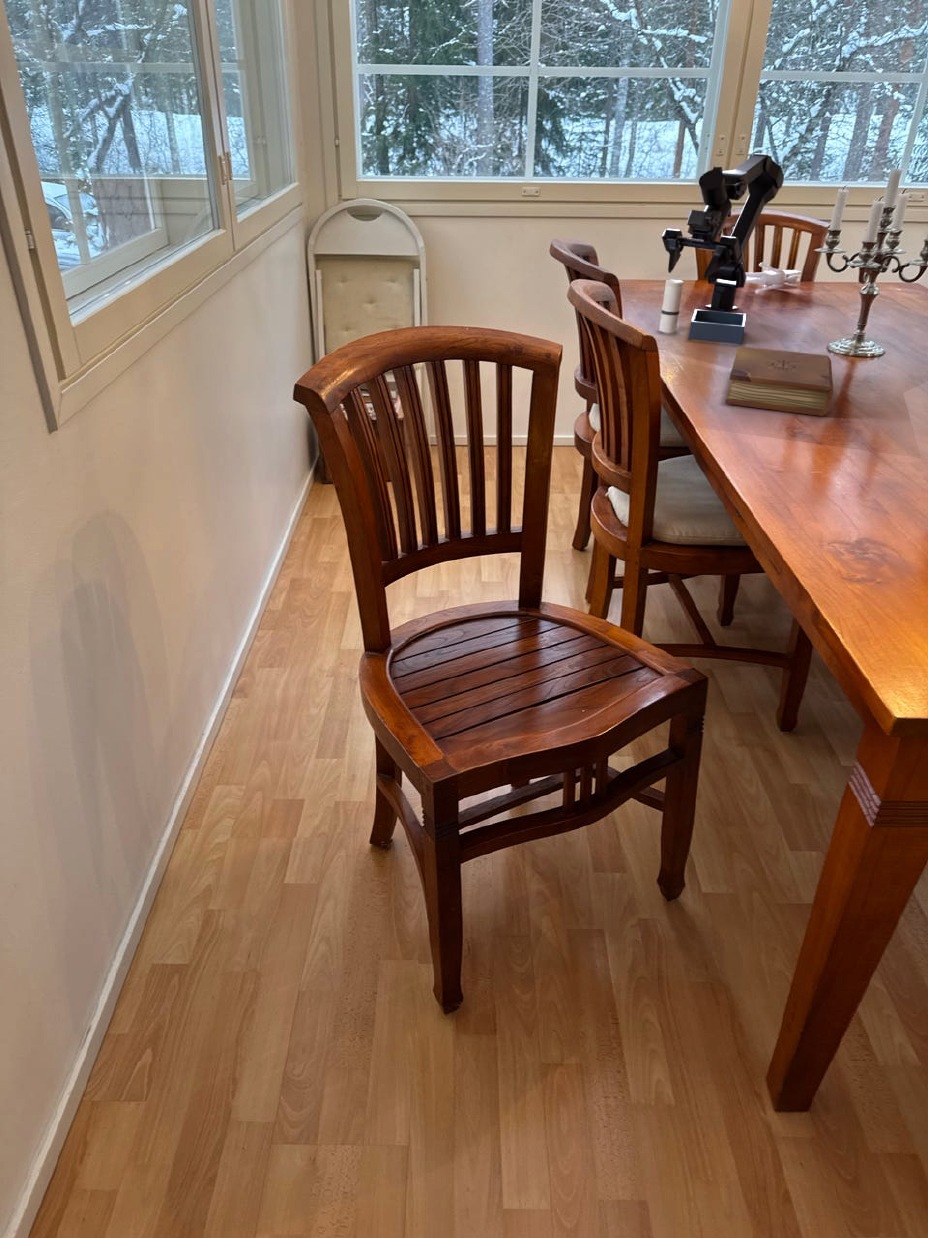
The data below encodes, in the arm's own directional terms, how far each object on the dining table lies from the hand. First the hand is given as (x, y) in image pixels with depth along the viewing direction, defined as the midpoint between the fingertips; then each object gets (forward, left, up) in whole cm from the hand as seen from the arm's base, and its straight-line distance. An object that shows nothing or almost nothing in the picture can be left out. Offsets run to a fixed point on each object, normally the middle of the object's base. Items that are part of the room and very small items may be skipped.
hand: (686, 274), depth 211 cm
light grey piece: (+6, +1, -13) cm, 14 cm away
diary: (+28, +43, -13) cm, 53 cm away
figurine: (-57, -10, -13) cm, 59 cm away
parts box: (0, +11, -13) cm, 17 cm away
